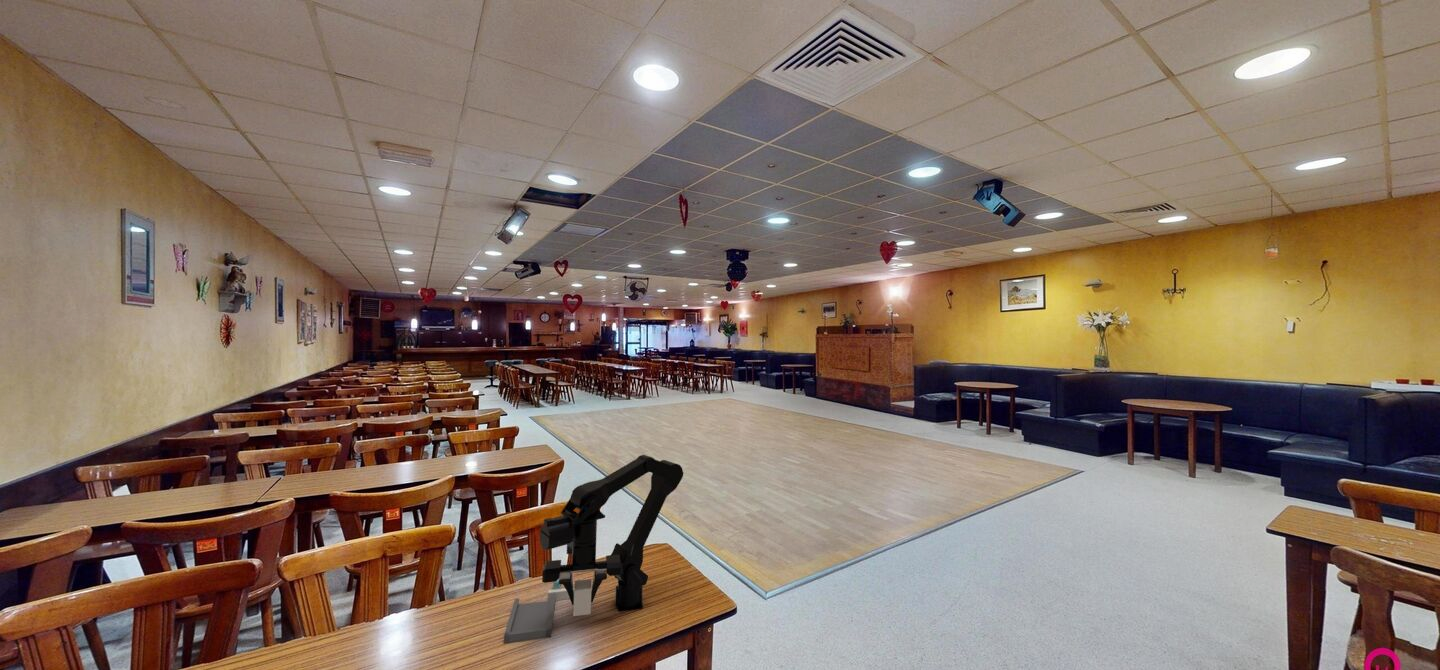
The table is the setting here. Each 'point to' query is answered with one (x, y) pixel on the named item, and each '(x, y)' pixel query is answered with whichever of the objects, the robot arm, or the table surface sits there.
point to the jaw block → (582, 597)
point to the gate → (558, 592)
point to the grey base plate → (530, 621)
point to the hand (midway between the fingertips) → (582, 603)
